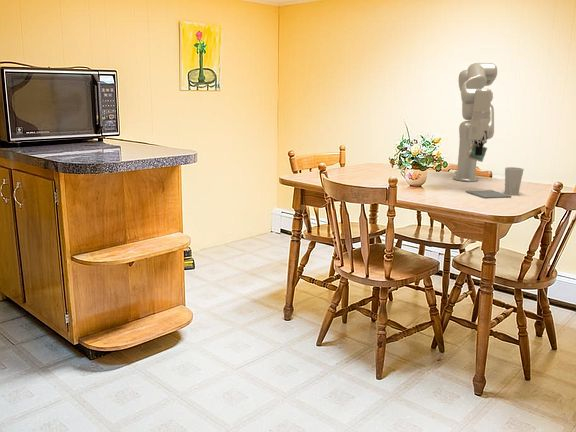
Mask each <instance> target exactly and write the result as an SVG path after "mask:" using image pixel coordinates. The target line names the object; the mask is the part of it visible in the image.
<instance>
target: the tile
mask: <svg viewBox="0 0 576 432" xmlns="http://www.w3.org/2000/svg"><path fill="white" fill-rule="evenodd" d="M476 147H477V144H474V143H471V145H470V148H469V151H468V154H467V157H468V158H471V159H474V160H477V162H480V163H483V161H484V159H485V155H486V152H487V151H488V147H486V146H483V148H482V155H475V152H476Z"/></svg>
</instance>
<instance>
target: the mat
mask: <svg viewBox="0 0 576 432" xmlns="http://www.w3.org/2000/svg"><path fill="white" fill-rule="evenodd" d="M465 193H467V194H470V195H472V196H475V197H478V198H482V199H505V198H507V199H508V198H511V199H512V195H508V194H505V193H504V192H503V193H502V192H499V191H495V190H492V189H489V190H488V189H487V190H486V189H485V190H484V189H483V190H465Z"/></svg>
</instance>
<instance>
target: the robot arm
mask: <svg viewBox="0 0 576 432" xmlns="http://www.w3.org/2000/svg"><path fill="white" fill-rule="evenodd" d="M497 76H498V66H497V65H496V64H495V63H494V62H475V63H472V64H470V65H469V66H468V67H467V69H464V70H462V71H461V72H459V74H458V80H457V81H458V87H459V91H460V97H461V104H462V105H461V107H462V108H461V115H462V118H463V119H464V121H462V122H461V123H460V124H459V127H458V133H459V142H458V143H459V147H458V158H457V166H456V167H457V168H456V169H457V170H456V171H455V172H454V174H456V175H454V176H453V180H454V181H460V182H468V183H469V182H478V180H479V179H478V177H476V170H477V162H478V161H477V160H474V159H471V158H468V157H467V154H468V151H469V148H470V145H471V143H474V144H477V147H476V152H475V155H482V148H483V147H485V144H487V142H488V140H490V139H492V138H493V136H494V134H495V112H494V111H495V109H494V106H493V104H492V101H493V99H494V96H493V95H494V92H492V89H489V88H485V87H488V86H491V85H492V84H493V83H494V82H495V80H496V79H497Z"/></svg>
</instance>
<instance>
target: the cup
mask: <svg viewBox="0 0 576 432" xmlns="http://www.w3.org/2000/svg"><path fill="white" fill-rule="evenodd" d="M524 169H525V168H522V167H515V166H514V167H512V166H511V167H510V166H509V167H505V168H504V175H505V176H504V178H505V179H504V192H503V194H506V195H509V196H518V195H520V188H521V182H522V178H523V174H524Z"/></svg>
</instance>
